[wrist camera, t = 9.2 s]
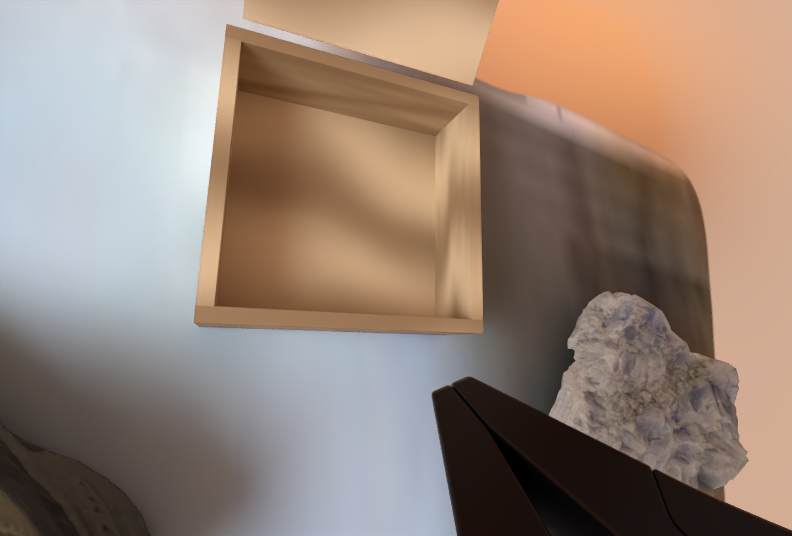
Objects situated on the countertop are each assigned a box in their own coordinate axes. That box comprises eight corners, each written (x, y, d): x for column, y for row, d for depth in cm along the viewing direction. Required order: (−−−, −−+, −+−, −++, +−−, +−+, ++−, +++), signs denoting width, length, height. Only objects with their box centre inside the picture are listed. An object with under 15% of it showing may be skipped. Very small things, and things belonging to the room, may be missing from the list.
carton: (441, 334, 23) (483, 333, 19) (199, 326, 18) (193, 322, 15) (441, 132, 25) (478, 96, 21) (225, 80, 20) (226, 23, 17)
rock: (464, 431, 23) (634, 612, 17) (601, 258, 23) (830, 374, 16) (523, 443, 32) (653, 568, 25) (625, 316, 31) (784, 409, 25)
